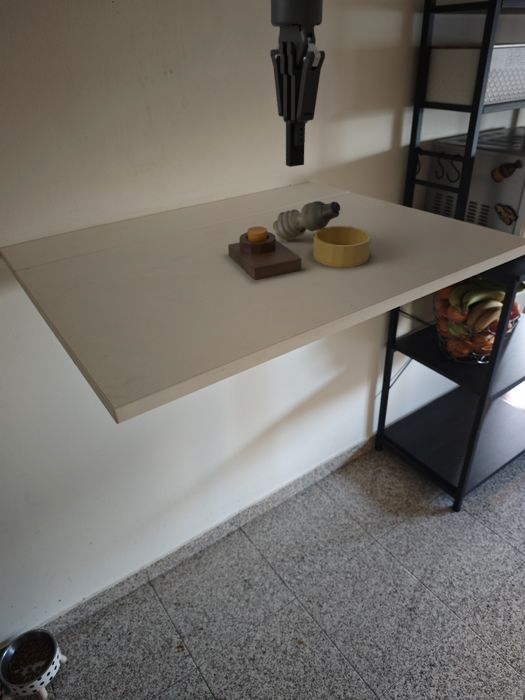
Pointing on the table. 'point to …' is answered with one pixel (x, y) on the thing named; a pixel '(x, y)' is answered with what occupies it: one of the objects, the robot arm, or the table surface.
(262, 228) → the lamp button
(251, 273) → the switch box
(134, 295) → the table surface
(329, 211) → the light bulb
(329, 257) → the lamp holder
